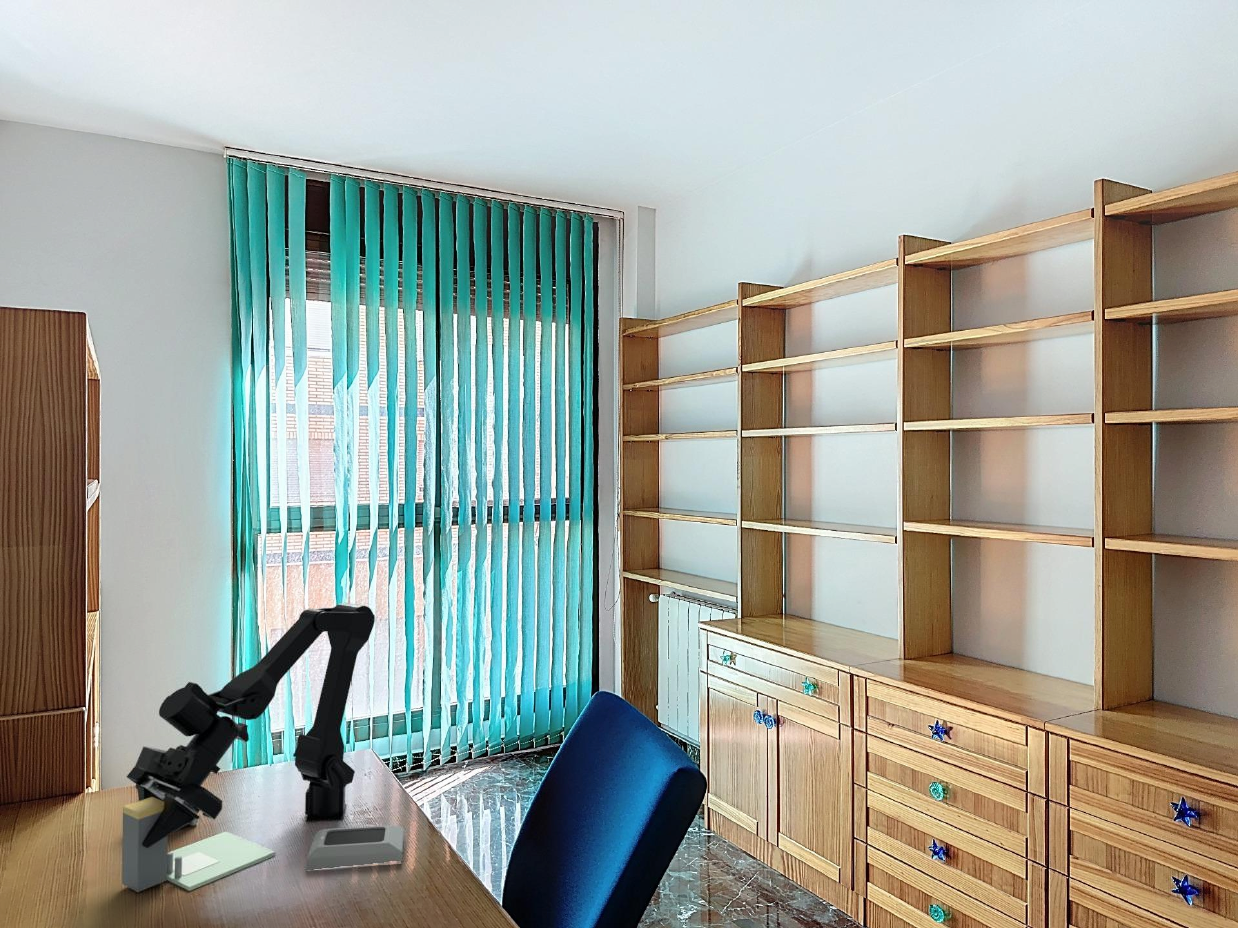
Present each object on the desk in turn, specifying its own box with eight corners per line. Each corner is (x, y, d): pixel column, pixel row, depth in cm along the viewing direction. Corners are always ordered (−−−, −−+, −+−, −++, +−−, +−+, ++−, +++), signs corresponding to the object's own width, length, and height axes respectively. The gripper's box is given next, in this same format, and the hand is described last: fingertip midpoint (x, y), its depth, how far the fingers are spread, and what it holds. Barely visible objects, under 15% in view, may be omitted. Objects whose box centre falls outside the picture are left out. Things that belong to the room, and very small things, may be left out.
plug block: (151, 872, 138) (151, 796, 138) (166, 879, 135) (167, 803, 135) (121, 883, 134) (122, 805, 134) (137, 891, 132) (138, 812, 132)
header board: (225, 834, 154) (226, 814, 154) (275, 855, 146) (275, 833, 146) (140, 866, 141) (140, 844, 141) (189, 890, 134) (189, 867, 134)
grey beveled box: (402, 844, 144) (306, 850, 141) (401, 866, 144) (306, 873, 141) (404, 821, 153) (314, 826, 150) (403, 842, 153) (314, 847, 150)
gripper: (139, 714, 143) (66, 803, 134) (205, 735, 133) (130, 833, 124) (185, 749, 150) (118, 836, 141) (251, 772, 140) (183, 867, 130)
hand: (135, 842), depth 134 cm, fingers closed on plug block, 4 cm apart
